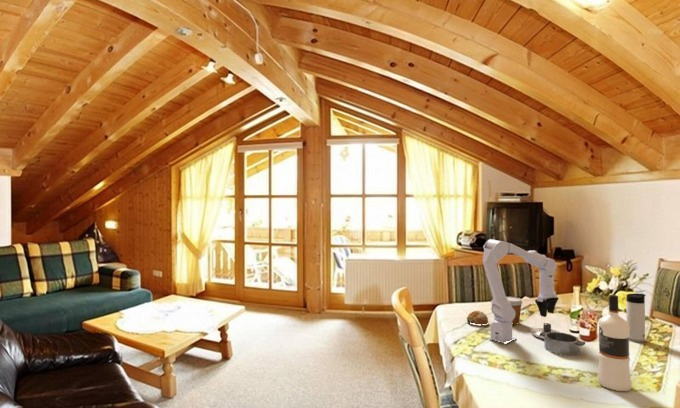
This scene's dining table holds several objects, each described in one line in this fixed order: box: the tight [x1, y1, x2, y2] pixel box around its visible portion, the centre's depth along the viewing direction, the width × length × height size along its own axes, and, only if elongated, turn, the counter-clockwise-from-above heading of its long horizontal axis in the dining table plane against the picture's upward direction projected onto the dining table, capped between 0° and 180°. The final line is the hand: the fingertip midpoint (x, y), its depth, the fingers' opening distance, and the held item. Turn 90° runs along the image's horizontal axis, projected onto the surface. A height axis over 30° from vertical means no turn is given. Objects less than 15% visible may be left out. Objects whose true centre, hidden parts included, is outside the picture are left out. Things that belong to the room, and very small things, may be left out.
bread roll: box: [466, 310, 489, 325], centre depth 187 cm, size 10×10×8 cm
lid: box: [531, 322, 560, 340], centre depth 168 cm, size 13×13×6 cm
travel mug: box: [625, 292, 646, 344], centre depth 162 cm, size 6×7×20 cm
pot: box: [539, 331, 586, 357], centre depth 154 cm, size 12×16×5 cm
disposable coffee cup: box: [506, 296, 523, 324], centre depth 187 cm, size 10×10×12 cm
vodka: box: [596, 294, 633, 392], centre depth 124 cm, size 9×9×30 cm
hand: (547, 314), depth 168 cm, fingers open, 7 cm apart
